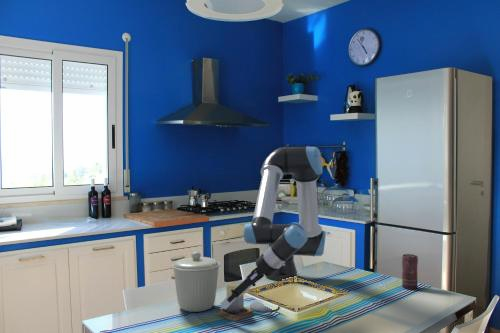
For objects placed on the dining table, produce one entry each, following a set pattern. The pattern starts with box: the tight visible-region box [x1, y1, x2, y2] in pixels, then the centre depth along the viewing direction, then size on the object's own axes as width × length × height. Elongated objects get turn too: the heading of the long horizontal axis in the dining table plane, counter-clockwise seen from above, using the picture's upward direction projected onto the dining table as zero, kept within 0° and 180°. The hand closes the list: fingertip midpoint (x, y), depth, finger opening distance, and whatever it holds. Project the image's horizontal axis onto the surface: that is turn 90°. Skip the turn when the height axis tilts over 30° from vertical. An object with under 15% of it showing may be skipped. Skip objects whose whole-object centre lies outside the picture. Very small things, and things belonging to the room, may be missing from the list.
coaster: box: [249, 300, 275, 313], centre depth 165 cm, size 11×11×1 cm
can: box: [401, 253, 419, 291], centre depth 188 cm, size 6×6×14 cm
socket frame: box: [216, 306, 255, 322], centre depth 157 cm, size 9×9×2 cm
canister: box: [171, 251, 221, 313], centre depth 165 cm, size 18×18×21 cm
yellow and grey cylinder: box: [226, 281, 245, 315], centre depth 157 cm, size 5×5×11 cm
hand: (230, 300), depth 158 cm, fingers open, 13 cm apart
